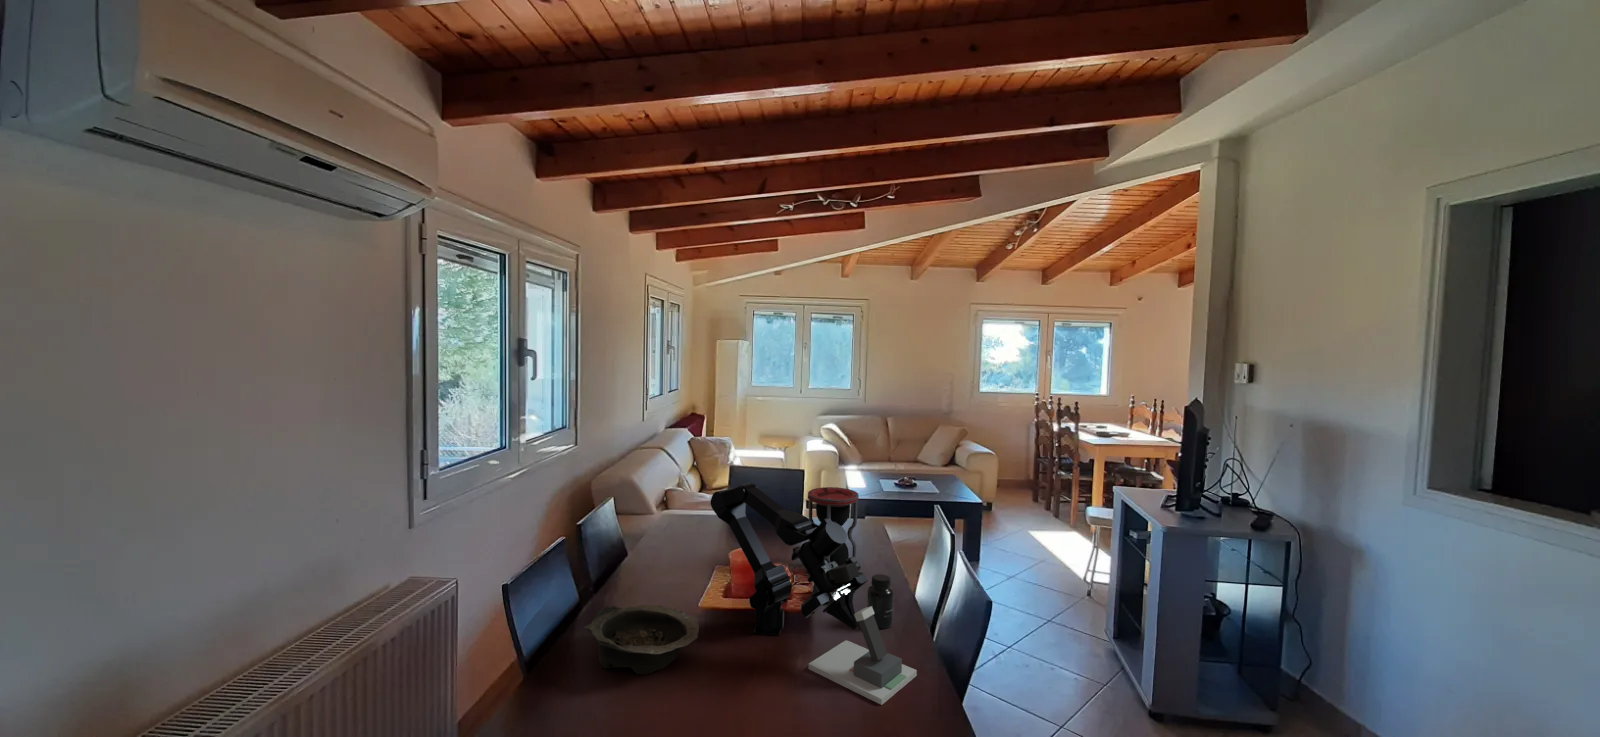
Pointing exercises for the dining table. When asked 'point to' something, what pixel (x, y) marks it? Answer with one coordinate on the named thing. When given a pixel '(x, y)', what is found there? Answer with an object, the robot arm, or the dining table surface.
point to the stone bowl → (641, 636)
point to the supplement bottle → (881, 600)
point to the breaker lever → (871, 633)
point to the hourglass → (835, 514)
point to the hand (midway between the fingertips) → (856, 628)
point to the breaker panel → (846, 678)
